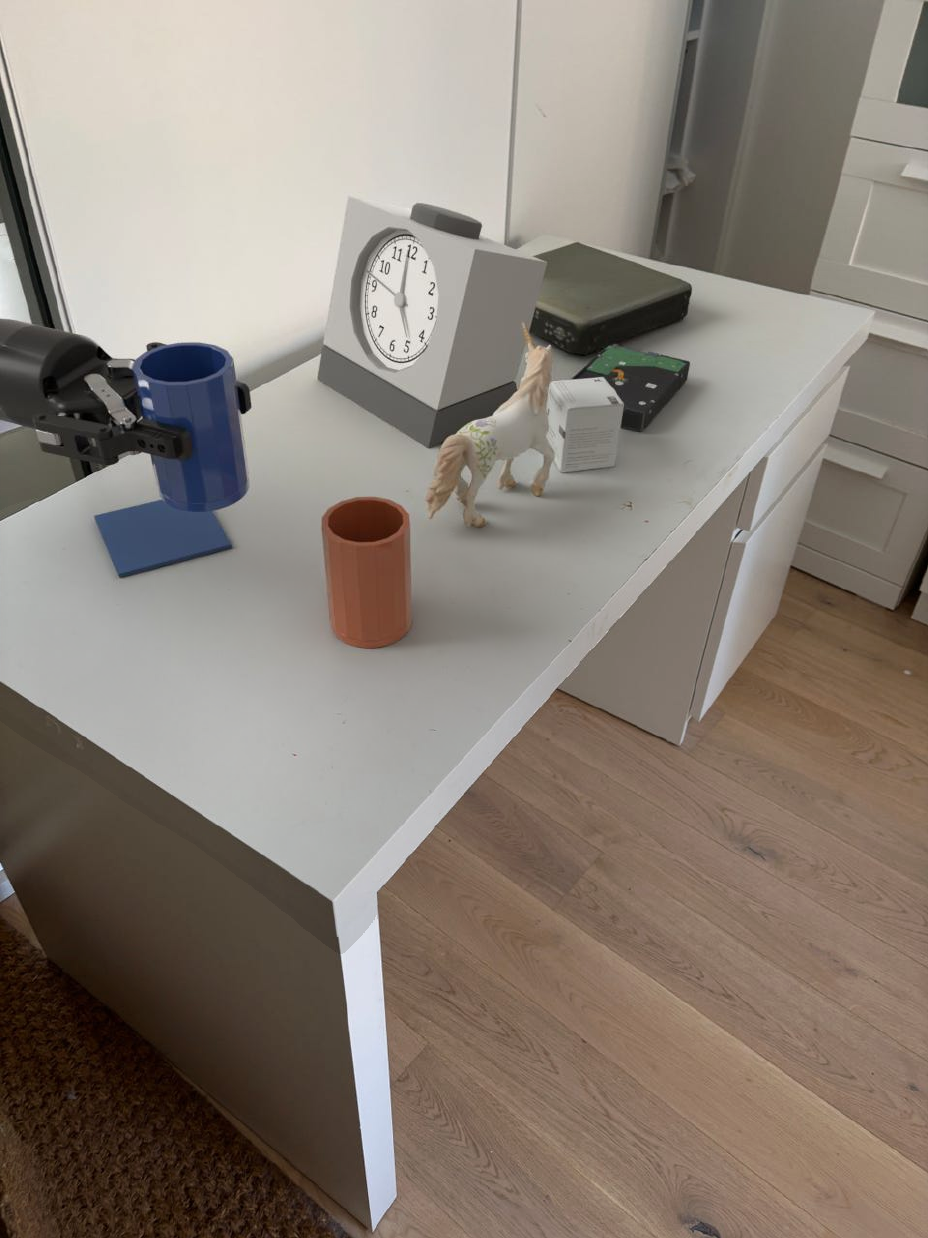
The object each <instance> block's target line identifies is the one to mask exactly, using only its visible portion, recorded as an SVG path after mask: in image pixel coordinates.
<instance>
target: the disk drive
mask: <svg viewBox="0 0 928 1238" xmlns="http://www.w3.org/2000/svg"><path fill="white" fill-rule="evenodd" d="M690 366H691V361H689V360H685V359H681V358H678V357H677V358H676V357H674V356H673V357H672V356H669V355H664V354H660V353H657V352H653V351H647V352H646V351H643V350H642V351H641V350H637V349H633V348H629V347H624V346H621V345H619V344H618V343H613V344H611V345H609V346H607V347H604V348H603V349H601V350H600V351H599V352H598V354H597V355H595V356H594V357H593V358H592V359H591V360H590V361H589V362H588V363H587V364H586V365H585V366H584V367H582V368H581V369H580V370H579V371H578V372H577V373H576V374H575V375H574V376H573V377H572V378H571V379H570V380H574V379H587V378H597V377H604V378H605V380H606V381H607V382H608V383H609V385H610V386H611V387H612V388H613V389H614V390H615V391H616V393H617V395H618V396H619V398H620V399H621V400H622V402H623V403H624V408H623V414H622V421H621V428H623V429H627V430H634V431H635V432H637V431H638V432H644V430H646V429H647V428H648V426H649V425H650V424H652V422H653V421H654V419H655V418H656V417H657V416H658V415H659V414H660V413H661V411H662V410H663V409H664V408H665V406H666V405H667V404H668V403H669V402H670V401H672V399H673V397H674V396H675V395H676V394H677V393H678V392H679V391H680V390H681V388H682V387H683V386H684V384H686V382H687V381H688V377H689V371H690Z"/></svg>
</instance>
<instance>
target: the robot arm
mask: <svg viewBox="0 0 928 1238" xmlns="http://www.w3.org/2000/svg"><path fill="white" fill-rule="evenodd" d="M163 345H167V344H166V343H162V342H158V341H153V342H149V343H147V344H146V345H145V347H146V351H149V350H152V349H154V348H157V347H160V346H163ZM135 360H136V358H115V357H114V358H113V357H112V356H111V355H109V354H108V352H106V351H105V350H104V348H103V347H102V346H101V345H100V344H98V343H97V342H96V341H95V340H94V339H92V338H90V337H88V336H86V335H83V334H78V333H74V332H71V331H65V330H60V329H57V328H52V327H47V326H43V325H39V324H34V323H29V322H25V321H20V320H17V319H12V318H11V319H10V318H0V421H3V422H7V423H10V424H14V425H18V426H20V427H21V426H22V427H26V428H29V429H33V430H35V433H36V437H37V441H38V444H39V447H40V450H41V452H44V453H47V454H52V455H57V456H61V457H66V458H69V459H74V460H80V461H83V462H89V463H93V464H97V465H101V466H113V465H116V464H117V463H119V461H120V458H119V456H120V455H123V454H126V455H127V456H128V455H129V456H137V455H139V454H141V453H144V454H148V455H150V454H151V455H156V456H159V457H160V456H161V457H163V458H166V459H176V460H180V461H186V460H187V459H189V458H190V457H191V456H192V455H193V447H192V442H191V436H190V433H189V432H188V430H186V429H185V428H182V427H178V426H174V425H170V424H166V423H162V422H157V421H154V420H150V419H146V418H142V413H141V408H140V403H139V399H138V394H137V389H136V384H135V380H134V375H133V370H132V367H133V365H134V362H135ZM236 382H237V389H238V396H239V404H240V411H241V415H245V414H247V412H249V411H251V409H252V407H253V406H252V398H251V391H250V387H249V386H248V385H247V384H246V382H245V383H244V382H242V381H238V380H236ZM89 439H93V440H94V441H95V445H96V446H93V445H91V443H90V441H89Z"/></svg>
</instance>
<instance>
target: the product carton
mask: <svg viewBox="0 0 928 1238" xmlns="http://www.w3.org/2000/svg"><path fill="white" fill-rule="evenodd" d="M547 394H548V395H547V400H546V410H547V413H548V420H549V430H548V432H547V434H546V438H547V440H548V442H549V444H550V446H551V447H552V449H553V450H554V453H555V458H554V460H553V462H554V463H555V465H556V467H557V470H558V472H561V473H571V472H580V471H588V470H596V469H607V468H613V467H615V466H616V461H617V460H616V459H617V453H618V446H619V440H620V434H621V428H622V427H621V421H622V414H623V408H624V403H623V402H622V400H621V399H620V398H619V396H618V395H617V393H616V391H615V390H614V389H613V388H612V387H611V386H610V385H609V383H608V382H607V381H606V380H605V378H604V377H597V378H587V379H574V380H571V379H561V380H551V383H550V385H549V386H548V388H547Z"/></svg>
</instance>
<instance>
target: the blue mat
mask: <svg viewBox="0 0 928 1238" xmlns="http://www.w3.org/2000/svg"><path fill="white" fill-rule="evenodd" d="M93 517H94V520H95V523H96V526H97V528H98V530H99V533H100V535H101V537H102V540H103V542H104V544H105V547H106V549H107V551H108V554H109V557H110V559H111V561H112V564H113V566H114V569H115V571H116V574H117V576H118V578H123V577H127V576H130V575H134V574H138V573H142V572H145V571H149V570H153V569H156V568H160V567H165V566H169V565H172V564H175V563H180V562H183V561H187V560H191V559H194V558H199V557H202V556H206V555H210V554H214V553H217V552H221V551H224V550H229V549H232V548H233V544H232V543H231V540H230V539H229V537H228V536H227V534H226V532H225V530H224V529H223V527H222V525H221V523H220V521H219V520H218V518H217V517H216V515H215V514H214V512H213V511H208V512H187V511H181V510H177V509H175V508H172V507H170V506H168V505H167V504H166V503H164V502H163V500H162V499H158V500H153V501H149V502H145V503H141V504H138V505H133V506H128V507H123V508H120V509H115V510H111V511H108V512H104V513H100V514H95V515H93Z"/></svg>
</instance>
